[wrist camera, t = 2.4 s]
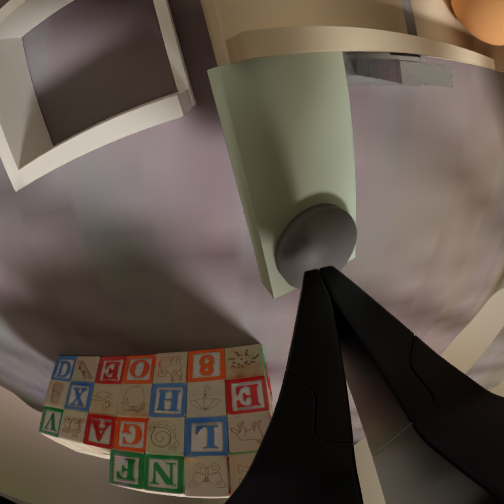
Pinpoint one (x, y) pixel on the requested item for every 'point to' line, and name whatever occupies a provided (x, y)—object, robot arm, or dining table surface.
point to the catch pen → (28, 111)
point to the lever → (310, 113)
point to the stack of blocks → (164, 416)
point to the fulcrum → (393, 70)
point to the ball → (482, 18)
